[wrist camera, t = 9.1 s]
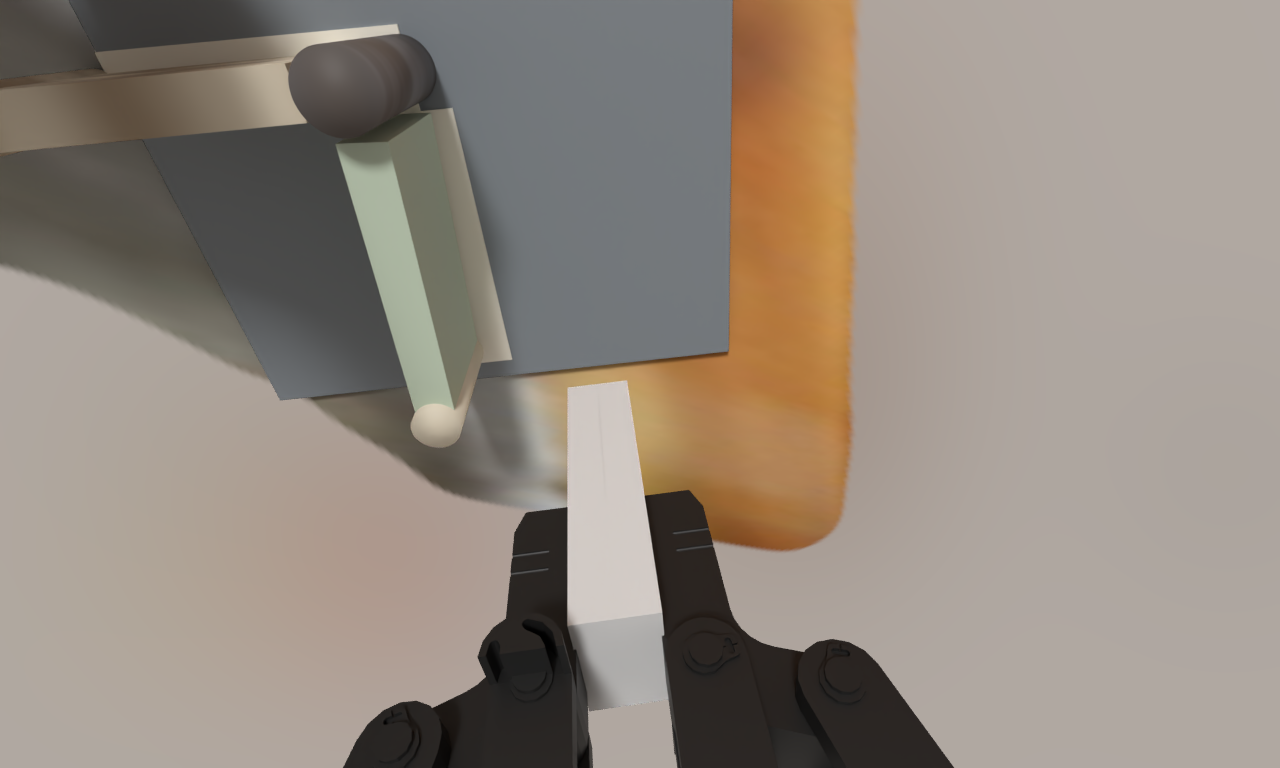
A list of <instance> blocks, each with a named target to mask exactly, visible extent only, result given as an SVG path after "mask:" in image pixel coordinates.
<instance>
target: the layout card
mask: <svg viewBox="0 0 1280 768" xmlns="http://www.w3.org/2000/svg"><path fill="white" fill-rule="evenodd" d="M732 1H733V0H69V2H70V4H71V6H72V8H73V10H74V12H75V13H76V15H77V17H78V19H79V21H80V23H81V25H82V27H83V29H84V30H85V32H86V34H87V36H88V38H89V40H90V42H91V44H92V46H93V47H94V49H95V51H96V52H94V53H95V55H96V57H97V59H98V61H99V63H100V64H101V66H102V68H103V70H104V72H106V73H117V72H128V71H139V70H149V69H160V68H171V67H181V66H192V65H202V64H213V63H224V62H234V61H245V60H256V59H266V58H277V57H287V56H296V55H297V54H298V53H299V52H300V51H301V50H302V49H304V48H306V47H308V46H311V45H315V44H321V43H329V42H336V41H344V40H352V39H359V38H367V37H374V36H382V35H390V34H404V35H408V36H410V37H412V38H414V39H416V40H417V41H419V42H420V43H421V44H422V45H423V46H424V47H425V48H426V49H427V51H428V52H429V53H430V55H431V57H432V59H433V62H434V65H435V69H436V83H435V87H434V89H433V91H432V93H431V94H430V95H429V96H428V97H427V98H426V99H425V100H423V101H421V102H420V103H418V104H416V105H414V106H412V107H411V108H409V109H407V110H405V111H404V112H402V113H400V114H410V113H431V116H432V121H433V125H434V130H435V135H436V140H437V145H438V150H439V155H440V160H441V165H442V170H443V175H444V179H445V184H446V189H447V194H448V199H449V204H450V209H451V214H452V219H453V224H454V229H455V234H456V238H457V243H458V248H459V253H460V258H461V263H462V268H463V273H464V278H465V283H466V288H467V292H468V297H469V302H470V307H471V312H472V317H473V322H474V327H475V332H476V337H477V340H478V341H479V342H480V344H481V345H482V348H483V352H484V354H483V359H482V362H481V366H480V369H479V372H478V376H477V379H480V378H490V377H499V376H508V375H517V374H526V373H535V372H544V371H553V370H563V369H572V368H581V367H590V366H599V365H608V364H617V363H627V362H636V361H645V360H654V359H663V358H672V357H681V356H691V355H700V354H709V353H718V352H727V351H729V270H730V181H731V91H732ZM142 140H143V142H144V144H145V146H146V148H147V149H148V151H149V153H150V155H151V157H152V159H153V161H154V163H155V165H156V167H157V168H158V170H159V172H160V174H161V176H162V178H163V180H164V182H165V184H166V185H167V187H168V189H169V191H170V193H171V195H172V197H173V199H174V201H175V202H176V204H177V206H178V208H179V210H180V212H181V214H182V216H183V218H184V219H185V221H186V223H187V225H188V227H189V229H190V231H191V233H192V235H193V236H194V238H195V240H196V242H197V244H198V246H199V248H200V250H201V252H202V253H203V255H204V257H205V259H206V261H207V263H208V265H209V267H210V269H211V270H212V272H213V274H214V276H215V278H216V280H217V282H218V284H219V286H220V287H221V289H222V291H223V293H224V295H225V297H226V299H227V301H228V303H229V304H230V306H231V308H232V310H233V312H234V314H235V316H236V318H237V320H238V321H239V323H240V325H241V327H242V329H243V331H244V333H245V335H246V337H247V338H248V340H249V342H250V344H251V346H252V348H253V350H254V352H255V354H256V355H257V357H258V359H259V361H260V363H261V365H262V367H263V369H264V371H265V372H266V374H267V376H268V378H269V380H270V382H271V384H272V386H273V387H274V389H275V391H276V393H277V395H278V397H279V398H280V400H288V399H298V398H307V397H316V396H325V395H334V394H343V393H352V392H362V391H371V390H380V389H389V388H398V387H407V384H406V380H405V377H404V374H403V370H402V367H401V364H400V360H399V357H398V353H397V350H396V347H395V343H394V340H393V337H392V333H391V330H390V326H389V323H388V320H387V316H386V313H385V310H384V306H383V303H382V300H381V296H380V293H379V289H378V286H377V283H376V279H375V276H374V273H373V269H372V266H371V262H370V259H369V256H368V252H367V249H366V246H365V242H364V239H363V236H362V232H361V229H360V225H359V222H358V219H357V215H356V212H355V209H354V205H353V202H352V198H351V195H350V192H349V188H348V185H347V182H346V178H345V175H344V172H343V168H342V165H341V161H340V158H339V155H338V151H337V148H336V145H335V144H336V143H338V142H340V141H342V140H343V138H336V137H332V136H330V135H327V134H325V133H323V132H321V131H319V130H318V129H316V128H315V127H314V126H312V125H311V124H310V123H309V122H308V123H303V124H293V125H283V126H272V127H262V128H252V129H242V130H231V131H221V132H211V133H200V134H190V135H180V136H170V137H159V138H149V139H142Z"/></svg>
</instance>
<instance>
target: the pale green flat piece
mask: <svg viewBox="0 0 1280 768" xmlns="http://www.w3.org/2000/svg"><path fill="white" fill-rule="evenodd" d="M335 145H336V148H337V151H338V155H339V158H340V161H341V165H342V168H343V172H344V175H345V178H346V182H347V185H348V188H349V192H350V195H351V198H352V202H353V205H354V209H355V212H356V215H357V219H358V222H359V225H360V229H361V232H362V236H363V239H364V242H365V246H366V249H367V252H368V256H369V259H370V262H371V266H372V269H373V273H374V276H375V279H376V283H377V286H378V289H379V293H380V296H381V300H382V303H383V306H384V310H385V313H386V316H387V320H388V323H389V326H390V330H391V333H392V337H393V340H394V343H395V347H396V350H397V353H398V357H399V360H400V364H401V367H402V370H403V374H404V377H405V380H406V384H407V387H408V390H409V394H410V397H411V401H412V404H413V407H414V411H415V414H414V416H413V419H412V421H411V431H412V434H413V435H414V437H415V438H416V439H417V440H418V441H420V442H421V443H423V444H425V445H427V446H430V447H435V448H443V447H448V446H450V445H452V444H454V443H455V442H456V441H457V440H458V439H459V437H460V435H461V431H462V428H463V424H464V421H465V417H466V414H467V410H468V407H469V403H470V400H471V397H472V393H473V390H474V386H475V383H476V379H477V376H478V372H479V369H480V366H481V362H482V359H483V354H484V352H483V348H482V345H481V344H480V342H479V341H478V340H477V337H476V332H475V327H474V322H473V317H472V312H471V307H470V302H469V297H468V292H467V288H466V283H465V278H464V273H463V268H462V263H461V258H460V253H459V248H458V243H457V238H456V234H455V229H454V224H453V219H452V214H451V209H450V204H449V199H448V194H447V189H446V184H445V179H444V175H443V170H442V165H441V160H440V155H439V150H438V145H437V140H436V135H435V130H434V125H433V121H432V116H431V113H410V114H398V115H397V116H395V117H393V118H391V119H390V120H388V121H386V122H384V123H383V124H381V125H379V126H377V127H376V128H374V129H372V130H370V131H368V132H367V133H365V134H363V135H361V136H359V137H356V138H350V139H343V140H342V141H340V142H338V143H336V144H335Z"/></svg>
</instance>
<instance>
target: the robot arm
mask: <svg viewBox="0 0 1280 768" xmlns="http://www.w3.org/2000/svg"><path fill="white" fill-rule="evenodd" d="M478 659H479V662H480V664H481V666H482V668H483V671H484V673H485V675H486V678H484V679H483V680H482V681H481V682H480V683H479V684H478V685H476V686H475V687H473V688H471V689H470V690H468V691H467V692H465V693H463V694H461V695H459V696H456V697H454V698H453V699H450V700H448V701H446V702H444V703H442V704H440V705H438V706H436V707H434V708H431V706H429V705H427V704H424V703H421V702H418V701H411V702H401V703H398V704H396V705H394V706H392V707H390V708H388V709H386V710H384V711H382V712H381V713H380V714H379V715H378V716H377V717H375V718H374V719H373V720H372V721H371V722H370V723H369V724H368V725H367V726H366V728H365V729H364V731H363V732H362V734H361V735H360V737H359V738H358V739H357V741H356V743H355V745H354V747H353V749H352V751H351V753H350V755H349V757H348V759H347V761H346V763H345V765H344V767H343V768H593V761H592V760H593V759H592V745H591V740H590V736H589V732H588V708H589V711H594V710H601V709H608V708H614V707H621V706H628V705H635V704H642V703H649V702H655V701H662V700H669V706H670V713H671V719H672V730H673V740H674V751H675V754H676V760H677V768H954V767H953V766H952V764H951V763H950V761H949V760H948V759H947V757H946V756H945V755H944V754H943V752H942V751H941V749H940V748H939V746H938V745H937V744H936V742H935V741H934V740H933V738H932V737H931V736H930V734H929V733H928V731H927V730H926V729H925V727H924V726H923V725H922V723H921V722H920V721H919V719H918V718H917V716H916V715H915V714H914V712H913V711H912V710H911V708H910V707H909V706H908V704H907V703H906V701H905V700H904V699H903V697H902V696H901V695H900V693H899V692H898V691H897V689H896V688H895V686H894V685H893V684H892V682H891V681H890V680H889V678H888V677H887V676H886V674H885V673H884V671H883V670H882V669H881V667H880V666H879V665H878V663H876V661H875V660H873V658H872V657H871V656H870V655H869V654H867V653H866V651H864V650H863V649H861V648H859V647H857V646H855V645H853V644H851V643H849V642H845V641H839V640H834V639H830V640H825V641H819V642H816V643H815V644H813V645H812V646H810V647H809V648H808V649H806V650H805V652H800V651H795V650H789V649H783V648H778V647H774V646H770V645H767V644H763V643H761V642H759V641H757V640H756V639H754V638H752V637H750V636H749V635H748V634H747V633H746V632H745V631H743V630H742V629H741V628H740V626H739V625H738V624H737V622H736V621H735V619H734V618H733V615H732V612H731V610H730V607H729V603H728V599H727V595H726V592H725V588H724V584H723V580H722V576H721V573H720V569H719V565H718V561H717V557H716V554H715V550H714V548H713V542H712V538H711V535H710V531H709V527H708V523H707V519H706V516H705V512H704V508H703V506H702V505H701V504H700V502H699V501H698V500H697V499H696V498H695V497H694V495H693V494H692V493H691V492H690V491H689V490H685V491H678V492H670V493H662V494H655V495H647V496H644V490H643V483H642V476H641V470H640V463H639V457H638V450H637V444H636V437H635V430H634V424H633V417H632V411H631V404H630V398H629V391H628V385H627V381H619V382H611V383H602V384H594V385H586V386H578V387H570V388H568V507H566V508H558V509H550V510H543V511H535V512H527V513H526V514H525V516H524V517H523V519H522V521H521V522H520V524H519V526H518V528H517V529H516V531H515V534H514V544H513V559H512V563H511V577H510V583H509V594H508V604H507V614H506V619H505V620H503V621H502V622H501V623H499V624H498V625H496V626H495V627H494V628H493V629H492V630H491V631H490V633H489V634H488V635H487V637H486V638H485V639H484V641H483V642H482V645H481V649H480V652H479V655H478Z"/></svg>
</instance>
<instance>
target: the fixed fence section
mask: <svg viewBox="0 0 1280 768" xmlns="http://www.w3.org/2000/svg"><path fill="white" fill-rule="evenodd" d="M435 83H436V69H435V65H434V62H433V59H432V57H431V55H430V53H429V52H428V51H427V49H426V48H425V47H424V46H423V45H422V44H421V43H420V42H419V41H417V40H416V39H414V38H412V37H410V36H408V35H404V34H390V35H382V36H374V37H367V38H359V39H352V40H344V41H336V42H329V43H321V44H315V45H311V46H308V47H306V48H304V49H302V50H301V51H300V52H299V53H298V54H297V55H296V56H287V57H277V58H266V59H256V60H245V61H234V62H224V63H213V64H202V65H192V66H181V67H171V68H160V69H149V70H139V71H128V72H117V73H106V72H104V70H100V69H84V70H75V71H67V72H59V73H51V74H42V75H34V76H26V77H17V78H9V79H1V80H0V157H2V156H6V155H10V154H14V153H18V152H21V151H25V150H36V149H46V148H56V147H67V146H77V145H87V144H97V143H108V142H118V141H128V140H139V139H149V138H159V137H170V136H180V135H190V134H200V133H211V132H221V131H231V130H242V129H252V128H262V127H272V126H283V125H293V124H303V123H308V122H309V123H310V124H311V125H312V126H314V127H315V128H316V129H318V130H319V131H321V132H323V133H325V134H327V135H330V136H332V137H336V138H343V139H350V138H356V137H359V136H361V135H363V134H365V133H367V132H368V131H370V130H372V129H374V128H376V127H377V126H379V125H381V124H383V123H384V122H386V121H388V120H390V119H391V118H393V117H395V116H397V115H398V114H400V113H402V112H404V111H405V110H407V109H409V108H411V107H412V106H414V105H416V104H418V103H420V102H421V101H423V100H425V99H426V98H427V97H428V96H429V95H430V94H431V93H432V91H433V89H434V87H435Z"/></svg>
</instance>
